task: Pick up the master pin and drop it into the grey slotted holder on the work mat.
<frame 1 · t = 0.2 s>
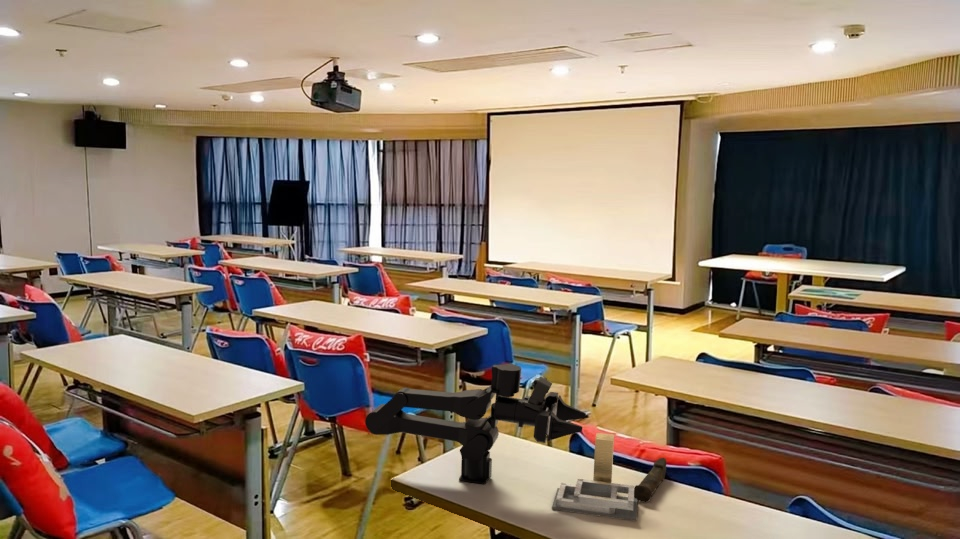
hand: (584, 422, 152), 17 cm above the table, tool horizontal, fingers open, 9 cm apart
master pin: (602, 490, 155), on the table
grey slotted holder: (595, 496, 147), on the work mat, point 2 cm above the table
dark brown rod: (650, 487, 158), on the table
work mat: (595, 505, 147), on the table
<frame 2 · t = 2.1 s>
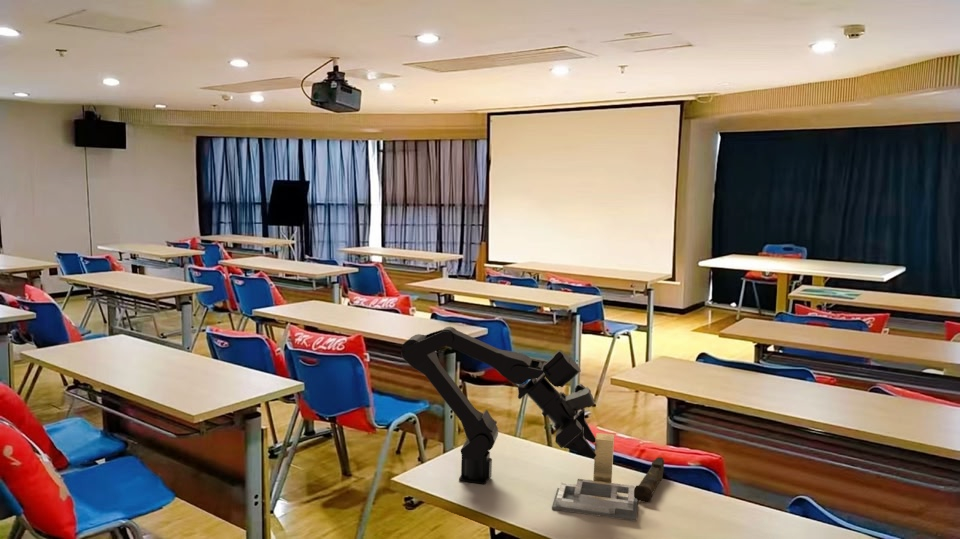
hand: (594, 449, 154), 10 cm above the table, tool tilted 45°, fingers open, 9 cm apart
nothing on the table moved.
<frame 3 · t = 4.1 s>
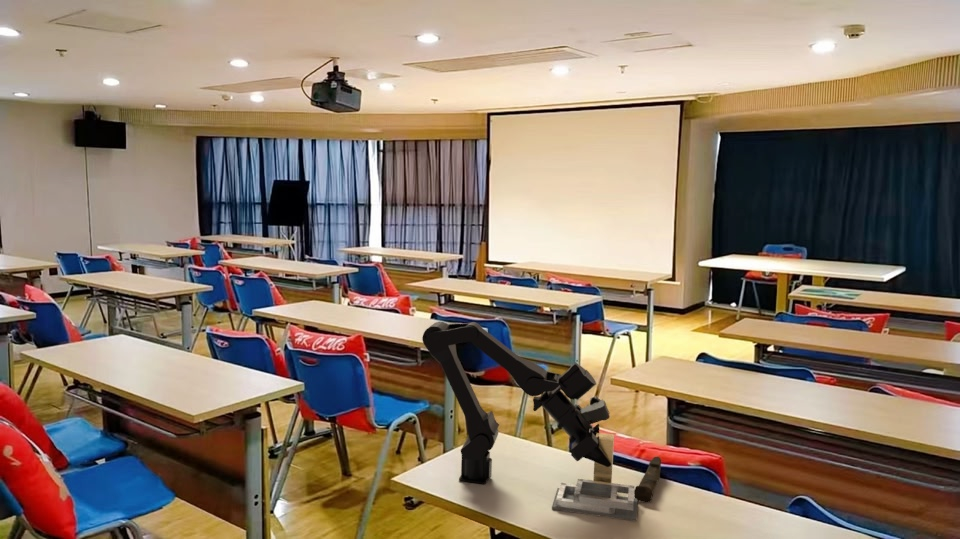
hand: (609, 461, 154), 7 cm above the table, tool tilted 45°, fingers closed on master pin, 4 cm apart
master pin: (602, 490, 155), on the table, touching gripper
everything else where it was.
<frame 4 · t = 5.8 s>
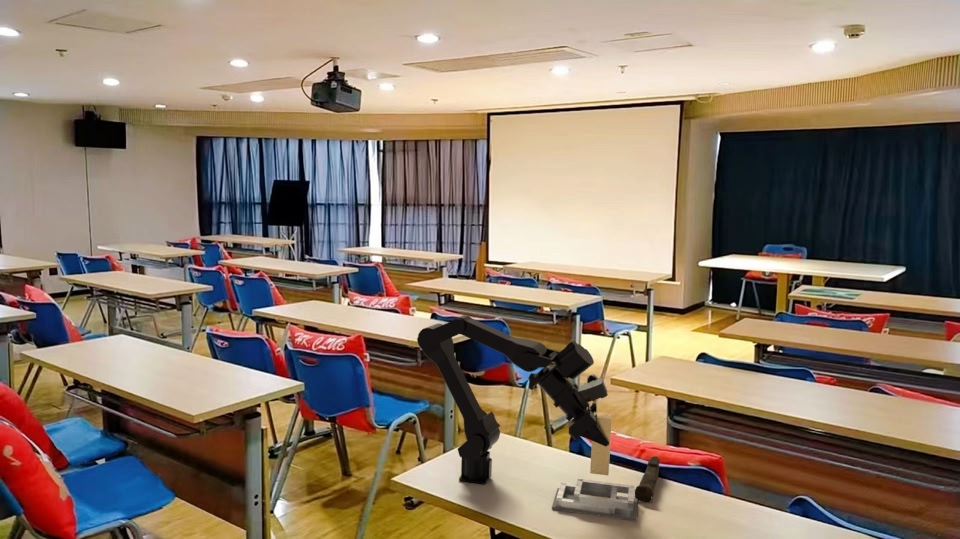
hand: (607, 441, 149), 13 cm above the table, tool tilted 45°, fingers closed on master pin, 4 cm apart
master pin: (599, 470, 150), point 6 cm above the table, touching gripper
everything else where it was.
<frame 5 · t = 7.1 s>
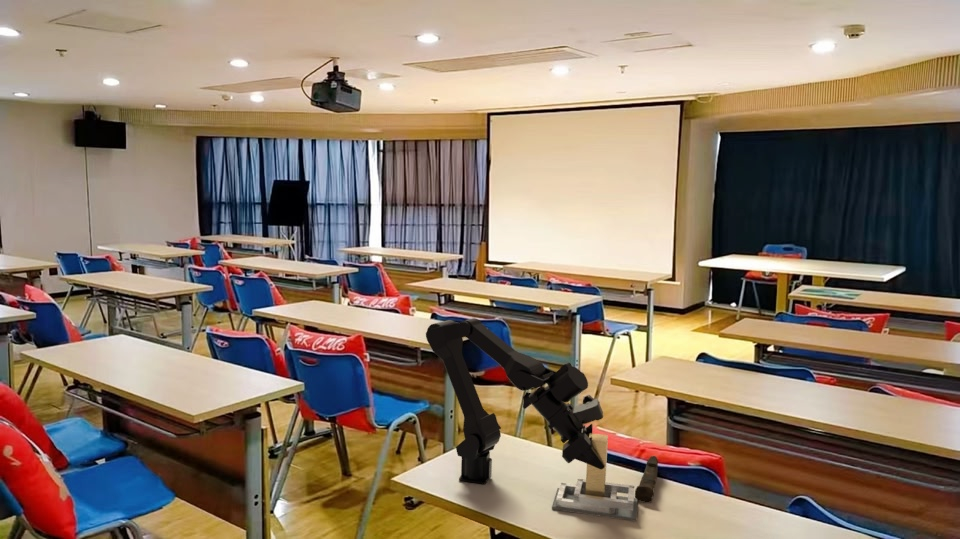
hand: (603, 463, 146), 10 cm above the table, tool tilted 45°, fingers closed on master pin, 4 cm apart
master pin: (595, 493, 147), point 3 cm above the table, touching gripper
when the fingers open (9 cm above the table, at t = 7.9 s): master pin drops 2 cm, resting on work mat.
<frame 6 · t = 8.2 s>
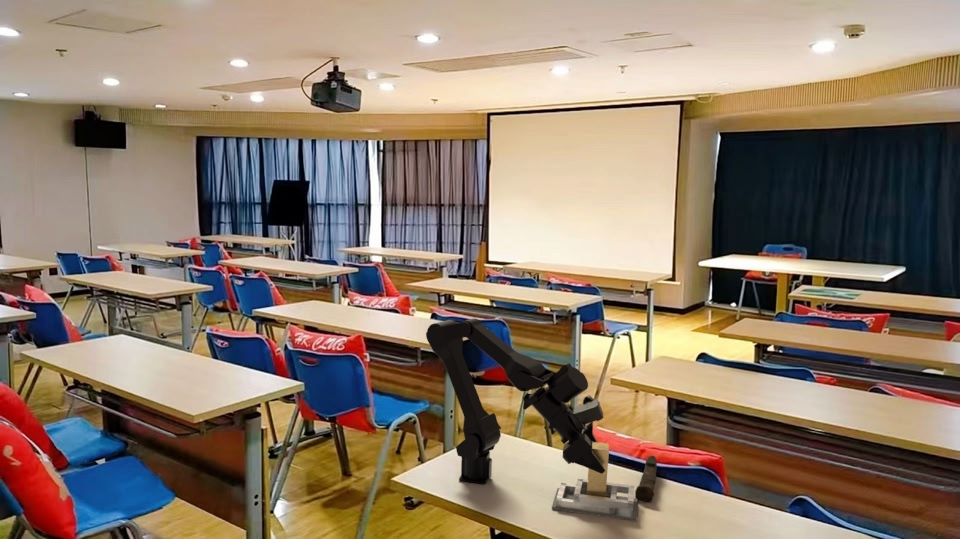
hand: (603, 464, 146), 10 cm above the table, tool tilted 45°, fingers open, 8 cm apart
master pin: (595, 502, 147), point 1 cm above the table, touching work mat
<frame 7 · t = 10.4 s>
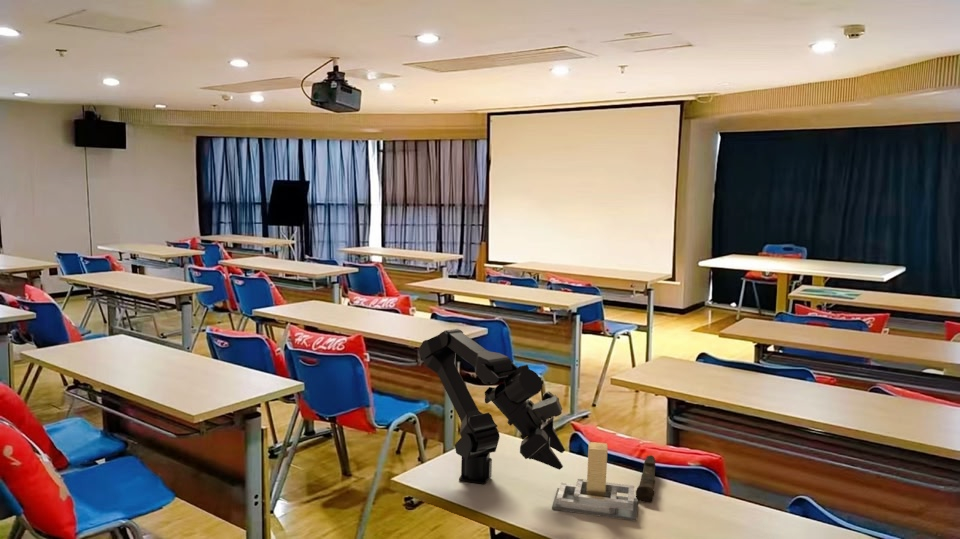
hand: (562, 459, 148), 10 cm above the table, tool tilted 45°, fingers open, 9 cm apart
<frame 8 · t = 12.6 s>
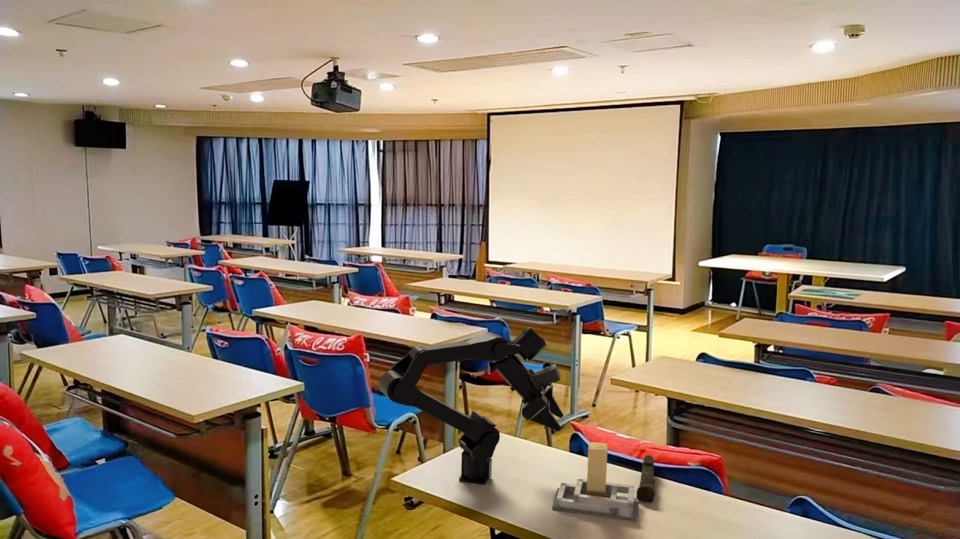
hand: (561, 423, 160), 14 cm above the table, tool tilted 45°, fingers open, 9 cm apart
at the end: master pin 0.1 cm off-centre on the grey slotted holder, point 0.6 cm above the grey slotted holder's base; master pin tilted 0°; the gripper is holding nothing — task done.
